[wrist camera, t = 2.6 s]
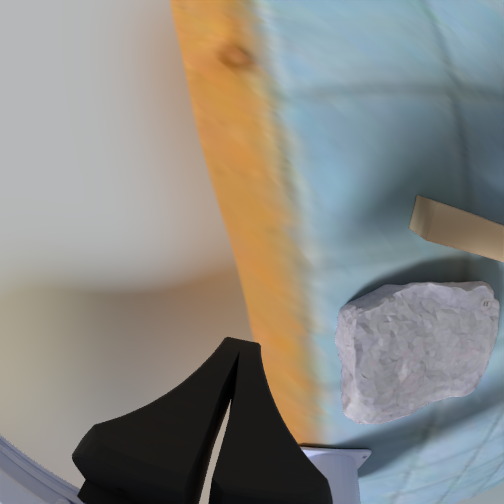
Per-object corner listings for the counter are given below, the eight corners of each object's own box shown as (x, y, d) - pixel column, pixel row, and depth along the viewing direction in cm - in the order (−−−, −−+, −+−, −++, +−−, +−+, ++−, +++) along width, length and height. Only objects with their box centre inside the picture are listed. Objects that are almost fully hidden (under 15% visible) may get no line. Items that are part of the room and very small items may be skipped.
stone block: (324, 284, 19) (338, 403, 20) (334, 306, 14) (346, 443, 15) (471, 251, 17) (467, 366, 18) (508, 261, 12) (494, 393, 13)
